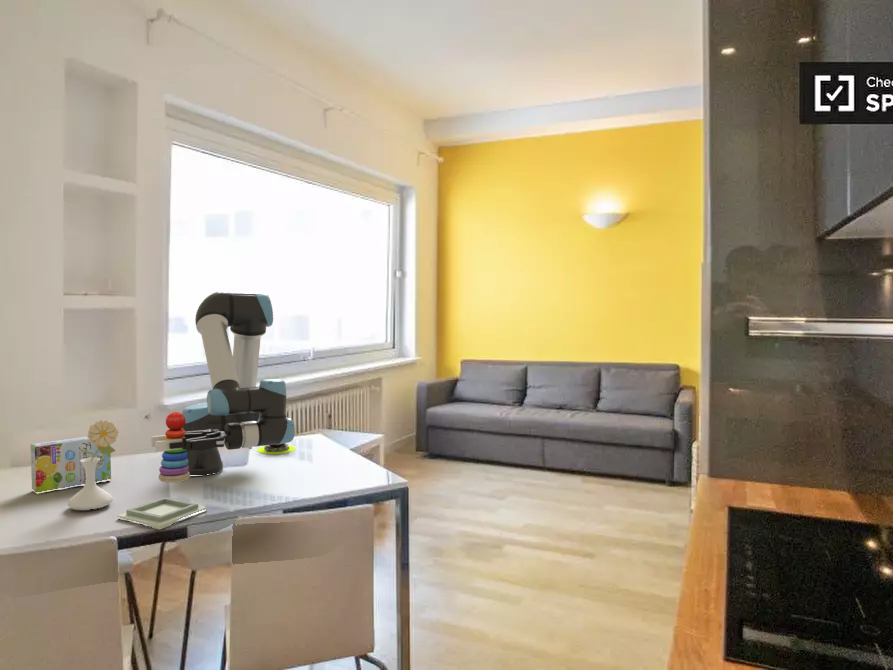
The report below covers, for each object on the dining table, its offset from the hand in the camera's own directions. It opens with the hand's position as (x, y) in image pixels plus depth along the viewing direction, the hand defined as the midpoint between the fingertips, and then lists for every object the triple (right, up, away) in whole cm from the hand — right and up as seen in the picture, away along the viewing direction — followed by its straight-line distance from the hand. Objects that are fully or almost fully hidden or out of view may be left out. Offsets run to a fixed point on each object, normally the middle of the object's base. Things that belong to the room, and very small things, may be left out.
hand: (153, 444), depth 175 cm
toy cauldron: (+12, -16, +83) cm, 85 cm away
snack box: (-39, -19, +30) cm, 52 cm away
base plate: (+1, -20, +4) cm, 21 cm away
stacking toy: (+4, -11, +3) cm, 12 cm away
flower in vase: (-22, -20, +10) cm, 31 cm away
